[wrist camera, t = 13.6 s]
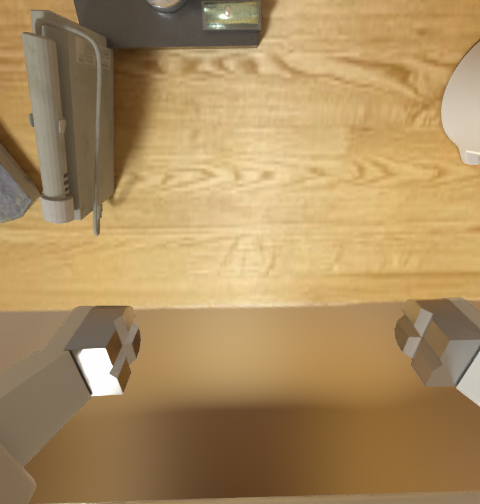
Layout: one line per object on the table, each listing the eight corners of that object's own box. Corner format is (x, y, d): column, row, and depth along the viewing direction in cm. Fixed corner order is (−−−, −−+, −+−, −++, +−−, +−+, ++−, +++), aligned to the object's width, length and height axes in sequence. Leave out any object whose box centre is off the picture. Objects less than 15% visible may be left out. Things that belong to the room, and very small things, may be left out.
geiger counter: (-15, -13, 20) (34, 264, 32) (75, 13, 21) (90, 273, 33) (79, 28, 32) (89, 218, 44) (134, 43, 33) (129, 226, 45)
